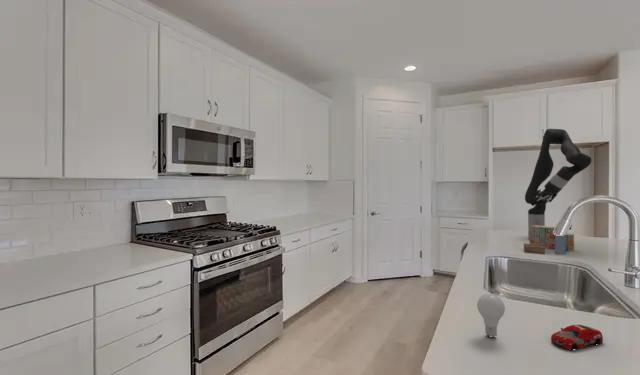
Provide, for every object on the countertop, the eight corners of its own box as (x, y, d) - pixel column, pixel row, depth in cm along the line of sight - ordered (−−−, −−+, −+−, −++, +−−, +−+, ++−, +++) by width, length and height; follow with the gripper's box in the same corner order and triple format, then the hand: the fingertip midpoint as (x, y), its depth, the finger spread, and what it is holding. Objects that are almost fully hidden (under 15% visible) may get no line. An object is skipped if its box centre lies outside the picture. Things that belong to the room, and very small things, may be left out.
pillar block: (555, 252, 178) (555, 230, 178) (564, 253, 177) (564, 231, 176) (556, 254, 175) (556, 232, 175) (565, 254, 173) (565, 232, 173)
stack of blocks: (574, 250, 183) (574, 228, 183) (567, 251, 181) (567, 229, 180) (535, 244, 203) (535, 224, 202) (529, 245, 200) (529, 225, 200)
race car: (567, 353, 76) (567, 337, 76) (545, 343, 81) (545, 327, 81) (608, 345, 80) (608, 328, 79) (585, 335, 85) (584, 320, 85)
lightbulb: (473, 331, 87) (472, 290, 87) (497, 331, 87) (496, 290, 87) (484, 342, 81) (484, 299, 81) (510, 342, 81) (509, 299, 81)
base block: (523, 250, 187) (523, 243, 187) (542, 251, 183) (542, 244, 183) (525, 253, 180) (525, 246, 179) (544, 254, 175) (544, 247, 175)
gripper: (558, 181, 186) (538, 202, 195) (543, 178, 180) (523, 200, 189) (569, 189, 181) (548, 211, 189) (554, 186, 175) (533, 208, 183)
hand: (536, 205), depth 189 cm, fingers open, 8 cm apart
